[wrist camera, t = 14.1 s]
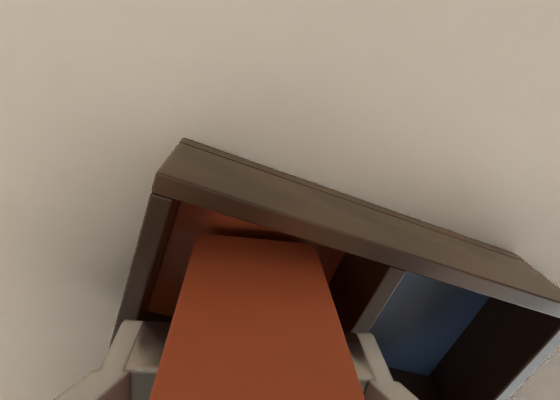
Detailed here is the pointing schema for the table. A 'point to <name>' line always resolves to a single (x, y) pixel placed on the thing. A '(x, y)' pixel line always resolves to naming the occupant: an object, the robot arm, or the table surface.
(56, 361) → the table surface
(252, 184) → the sorter
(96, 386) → the robot arm
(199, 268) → the terracotta block
